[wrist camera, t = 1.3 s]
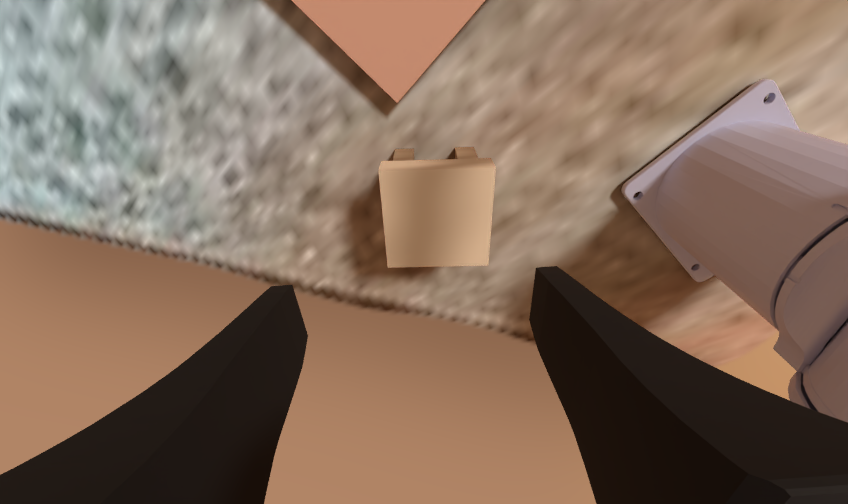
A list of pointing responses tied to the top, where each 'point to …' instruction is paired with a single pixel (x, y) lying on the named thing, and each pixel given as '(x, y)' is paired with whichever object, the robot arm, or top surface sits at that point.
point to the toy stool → (437, 209)
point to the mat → (391, 34)
